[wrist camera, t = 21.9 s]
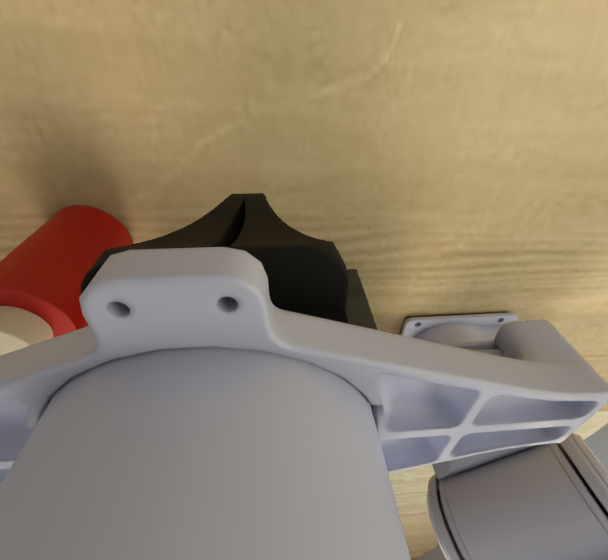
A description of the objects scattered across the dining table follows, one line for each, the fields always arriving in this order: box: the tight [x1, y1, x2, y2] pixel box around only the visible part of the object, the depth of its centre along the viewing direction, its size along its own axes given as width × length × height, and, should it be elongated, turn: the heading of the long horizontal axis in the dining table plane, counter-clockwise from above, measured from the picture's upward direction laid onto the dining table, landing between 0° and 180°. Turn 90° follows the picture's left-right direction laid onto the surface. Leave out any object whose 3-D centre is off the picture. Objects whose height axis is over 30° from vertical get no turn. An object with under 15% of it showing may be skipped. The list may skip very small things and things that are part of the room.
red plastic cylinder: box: [0, 206, 132, 356], centre depth 16 cm, size 4×4×8 cm
